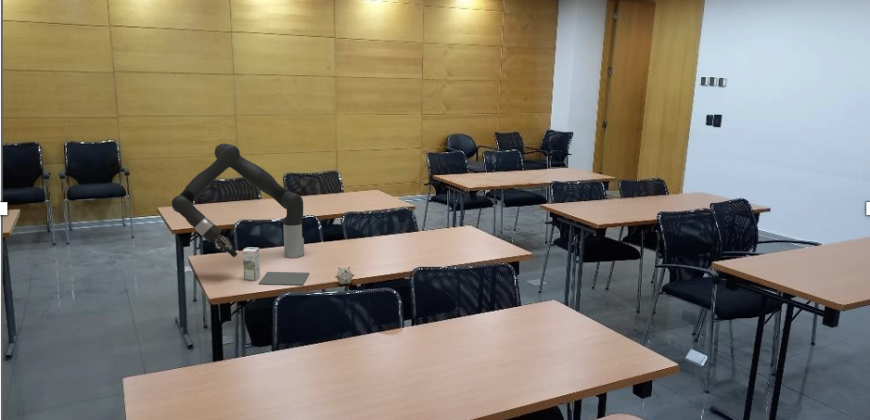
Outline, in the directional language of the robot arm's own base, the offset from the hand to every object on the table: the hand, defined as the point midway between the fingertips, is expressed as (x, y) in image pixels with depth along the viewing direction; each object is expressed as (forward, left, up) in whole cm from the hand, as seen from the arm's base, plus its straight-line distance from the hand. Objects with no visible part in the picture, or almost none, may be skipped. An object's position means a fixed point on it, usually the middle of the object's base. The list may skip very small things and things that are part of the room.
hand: (236, 255), depth 286 cm
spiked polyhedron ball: (-35, +37, -11) cm, 52 cm away
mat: (-17, +14, -11) cm, 24 cm away
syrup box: (-5, +5, -11) cm, 13 cm away
